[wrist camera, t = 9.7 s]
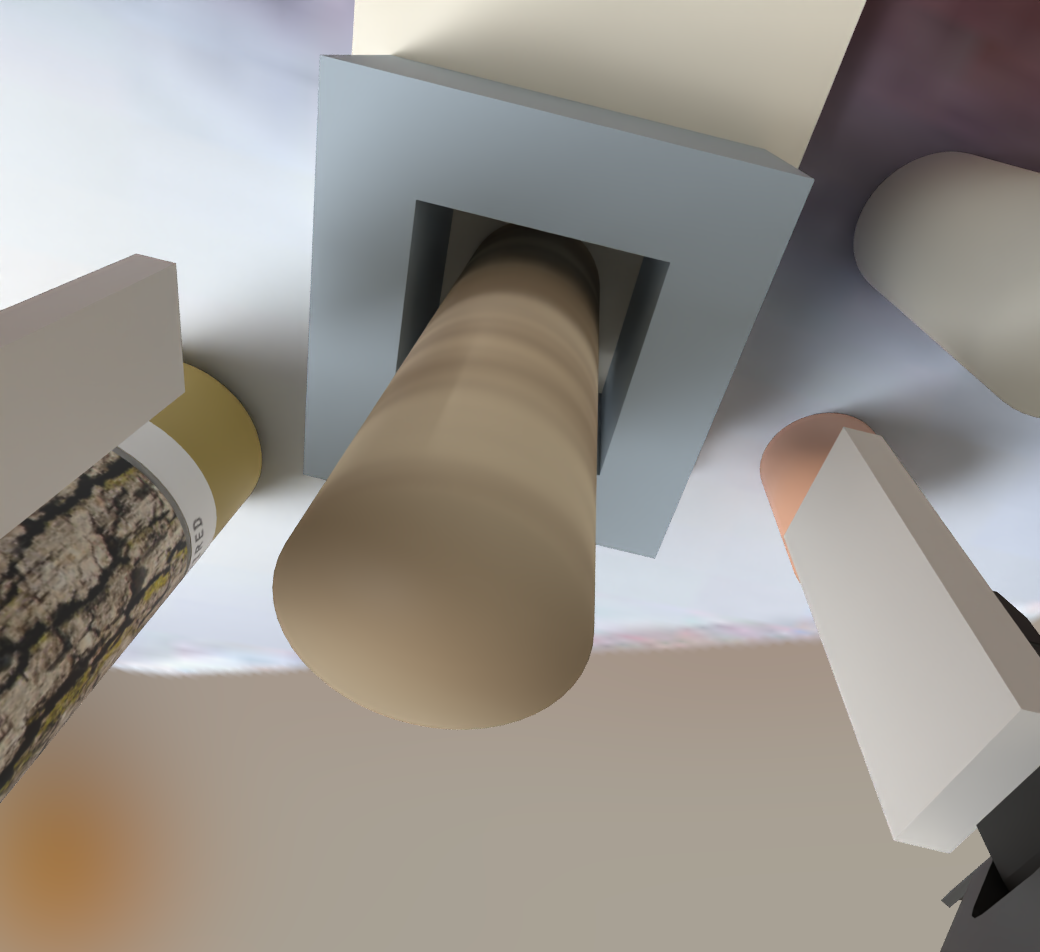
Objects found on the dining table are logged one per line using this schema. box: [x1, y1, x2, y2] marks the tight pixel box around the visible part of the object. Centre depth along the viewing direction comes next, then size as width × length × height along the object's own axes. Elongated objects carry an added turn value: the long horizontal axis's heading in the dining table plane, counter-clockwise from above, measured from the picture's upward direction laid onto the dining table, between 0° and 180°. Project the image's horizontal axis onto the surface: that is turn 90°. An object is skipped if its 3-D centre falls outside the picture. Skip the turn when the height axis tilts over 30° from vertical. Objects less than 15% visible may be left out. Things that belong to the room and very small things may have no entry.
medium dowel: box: [854, 152, 1040, 418], centre depth 16 cm, size 4×4×8 cm
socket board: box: [303, 0, 866, 559], centre depth 17 cm, size 18×12×6 cm, turn 168°
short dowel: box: [760, 413, 876, 582], centre depth 21 cm, size 4×4×5 cm
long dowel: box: [272, 223, 600, 730], centre depth 14 cm, size 4×4×14 cm
